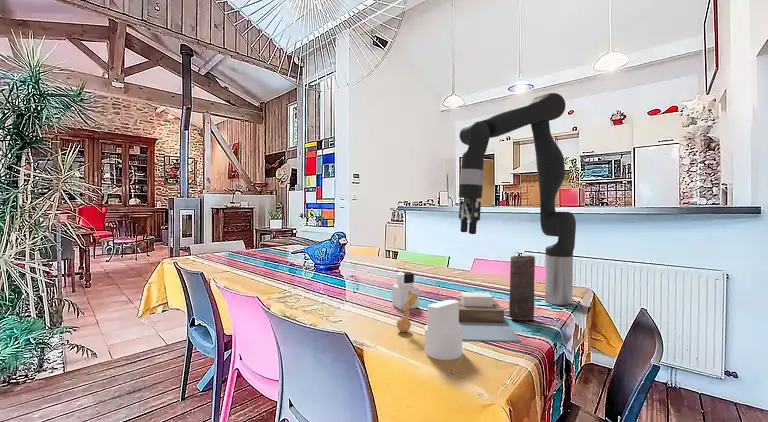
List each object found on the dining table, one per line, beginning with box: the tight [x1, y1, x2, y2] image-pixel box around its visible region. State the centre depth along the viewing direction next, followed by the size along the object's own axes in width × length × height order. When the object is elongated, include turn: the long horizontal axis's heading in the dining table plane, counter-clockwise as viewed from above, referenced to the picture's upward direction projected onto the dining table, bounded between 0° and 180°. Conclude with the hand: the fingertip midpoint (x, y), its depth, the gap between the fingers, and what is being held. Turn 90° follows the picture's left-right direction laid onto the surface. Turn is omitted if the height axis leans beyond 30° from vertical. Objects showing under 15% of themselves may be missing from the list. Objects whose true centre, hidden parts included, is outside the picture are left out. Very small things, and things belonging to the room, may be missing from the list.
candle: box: [508, 255, 536, 321], centre depth 122 cm, size 8×7×20 cm
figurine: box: [396, 290, 417, 333], centre depth 111 cm, size 8×6×12 cm
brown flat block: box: [454, 299, 505, 323], centre depth 125 cm, size 12×14×4 cm
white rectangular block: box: [460, 291, 494, 307], centre depth 127 cm, size 6×9×3 cm, turn 86°
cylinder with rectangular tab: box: [424, 299, 463, 361], centre depth 96 cm, size 9×9×12 cm
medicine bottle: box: [391, 271, 420, 311], centre depth 139 cm, size 7×7×12 cm
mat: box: [459, 322, 522, 343], centre depth 111 cm, size 15×16×1 cm
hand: (467, 233), depth 130 cm, fingers open, 8 cm apart
